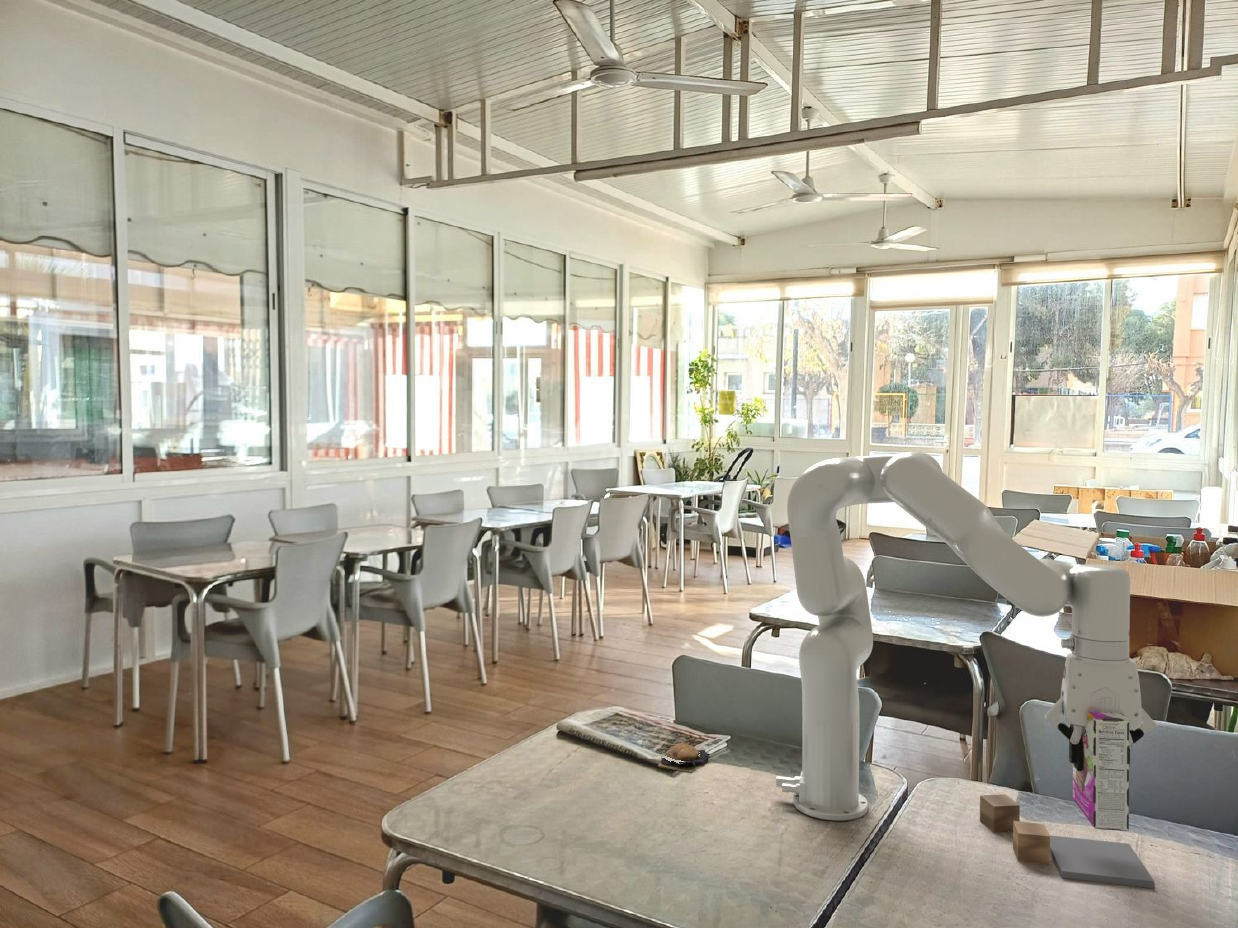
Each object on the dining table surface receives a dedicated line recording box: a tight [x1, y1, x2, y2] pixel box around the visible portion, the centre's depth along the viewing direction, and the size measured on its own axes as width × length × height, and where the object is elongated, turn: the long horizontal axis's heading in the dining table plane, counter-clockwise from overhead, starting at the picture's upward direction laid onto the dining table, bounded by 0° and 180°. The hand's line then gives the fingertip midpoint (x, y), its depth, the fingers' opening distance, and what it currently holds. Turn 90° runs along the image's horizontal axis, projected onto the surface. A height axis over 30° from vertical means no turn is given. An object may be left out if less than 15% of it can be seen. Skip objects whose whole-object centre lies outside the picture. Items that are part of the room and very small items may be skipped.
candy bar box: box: [1071, 712, 1130, 832], centre depth 133 cm, size 11×5×16 cm, turn 168°
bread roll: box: [657, 743, 710, 774], centre depth 175 cm, size 11×8×4 cm
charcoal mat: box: [1049, 834, 1155, 889], centre depth 133 cm, size 12×12×1 cm
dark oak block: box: [979, 793, 1021, 834], centre depth 146 cm, size 4×4×4 cm
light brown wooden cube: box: [1012, 821, 1051, 866], centre depth 136 cm, size 4×4×4 cm
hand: (1098, 768), depth 133 cm, fingers closed on candy bar box, 5 cm apart
